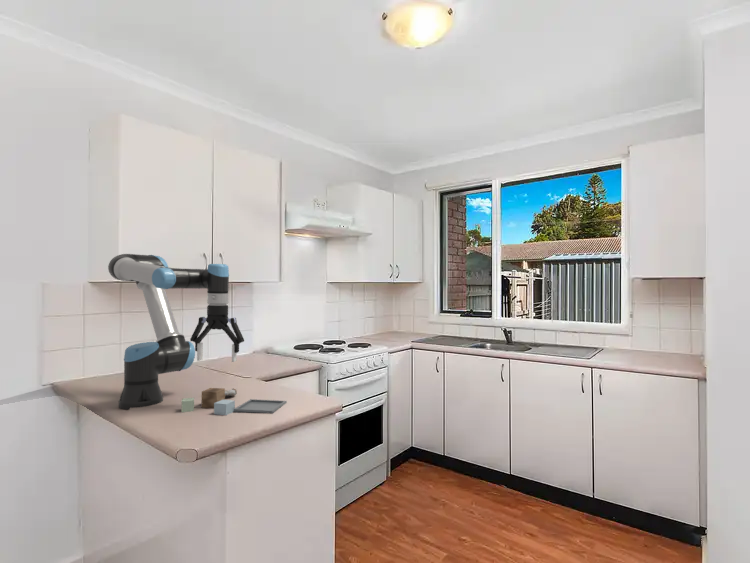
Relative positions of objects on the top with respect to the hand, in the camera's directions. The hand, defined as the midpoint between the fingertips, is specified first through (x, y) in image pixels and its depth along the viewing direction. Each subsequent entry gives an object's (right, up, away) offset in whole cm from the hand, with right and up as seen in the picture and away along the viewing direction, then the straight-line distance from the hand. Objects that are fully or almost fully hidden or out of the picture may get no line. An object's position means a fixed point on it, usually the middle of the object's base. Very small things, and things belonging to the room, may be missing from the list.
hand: (216, 360), depth 166 cm
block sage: (-8, -17, -7) cm, 20 cm away
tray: (+18, -17, -4) cm, 25 cm away
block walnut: (-1, -17, -1) cm, 17 cm away
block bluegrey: (+6, -17, -10) cm, 21 cm away
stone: (+2, -17, +9) cm, 20 cm away
